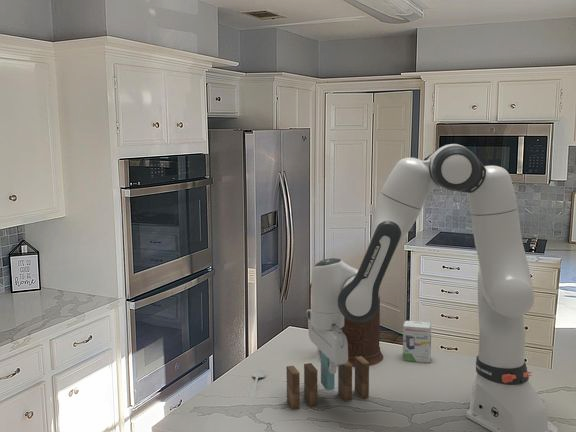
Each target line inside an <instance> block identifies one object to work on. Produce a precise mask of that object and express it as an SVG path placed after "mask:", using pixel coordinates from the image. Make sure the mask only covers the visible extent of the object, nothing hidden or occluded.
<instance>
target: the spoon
mask: <svg viewBox="0 0 576 432" xmlns="http://www.w3.org/2000/svg"><path fill="white" fill-rule="evenodd" d="M258 375H259V376H258ZM266 376H267V372H266V370H265V368H263V367H259V368H257V369H255V370H254V372H253V373H252V375H251V377H252V378H255V379H254V382H253V385H252V387H251V388H250V391H249V394H248V396H249V398H250V399H253V398H254V397H255V396H256V394H257V384H258V379H261V378H265V377H266Z"/></svg>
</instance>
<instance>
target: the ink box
mask: <svg viewBox="0 0 576 432" xmlns="http://www.w3.org/2000/svg"><path fill="white" fill-rule="evenodd" d="M431 355H432V323H430V322H426V321H413V320H405V321H404V322H403V325H402V360H403V361H405V362H418V363H428V364H429V363H431V358H432V357H431Z"/></svg>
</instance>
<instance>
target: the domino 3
mask: <svg viewBox="0 0 576 432" xmlns="http://www.w3.org/2000/svg"><path fill="white" fill-rule="evenodd" d="M329 364H330V362H329V358H328V357H327V356H326V355H325V354H324V353H323V352H322V351H321V363H320V383H321V385H322V386H323V387H324V388H325V390H326V391H331V390H333V391H334V390H335V374H330V373H329V372H328V366H329Z"/></svg>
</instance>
